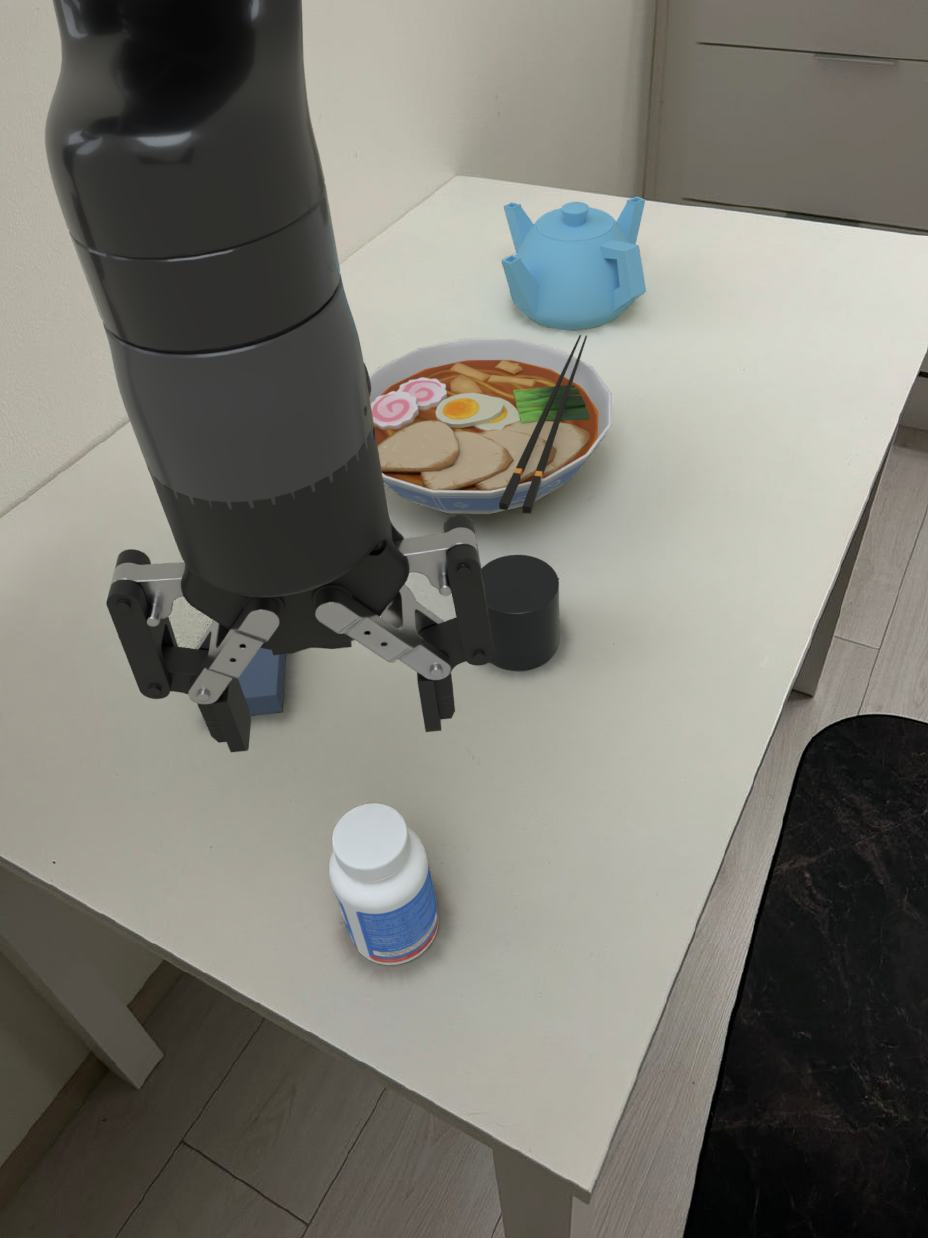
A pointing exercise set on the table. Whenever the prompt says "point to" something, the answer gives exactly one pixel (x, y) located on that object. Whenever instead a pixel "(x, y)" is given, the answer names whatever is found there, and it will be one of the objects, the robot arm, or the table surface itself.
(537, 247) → the teapot
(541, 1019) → the table surface
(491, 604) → the black cylinder
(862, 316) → the table surface
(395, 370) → the ramen bowl
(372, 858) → the pill bottle
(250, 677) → the blue rectangular block
